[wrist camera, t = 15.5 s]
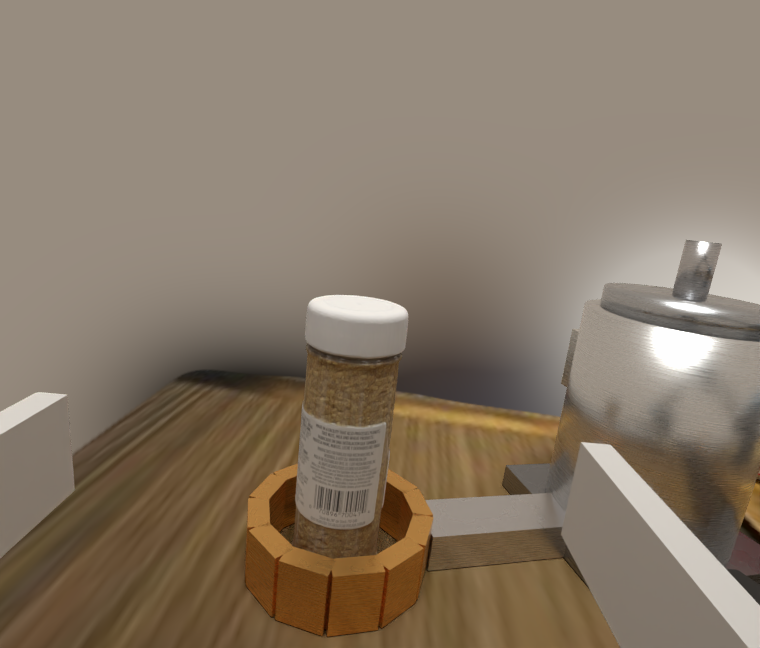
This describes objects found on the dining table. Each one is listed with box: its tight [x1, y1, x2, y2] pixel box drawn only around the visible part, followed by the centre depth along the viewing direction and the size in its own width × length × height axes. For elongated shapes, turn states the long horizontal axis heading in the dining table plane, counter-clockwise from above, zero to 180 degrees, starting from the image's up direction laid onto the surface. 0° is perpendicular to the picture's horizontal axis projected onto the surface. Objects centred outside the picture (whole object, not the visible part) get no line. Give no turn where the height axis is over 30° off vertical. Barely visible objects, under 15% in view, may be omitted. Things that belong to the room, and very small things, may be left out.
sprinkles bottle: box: [291, 295, 408, 559], centre depth 23 cm, size 5×5×13 cm
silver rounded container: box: [245, 240, 760, 637], centre depth 25 cm, size 28×12×18 cm, turn 104°
